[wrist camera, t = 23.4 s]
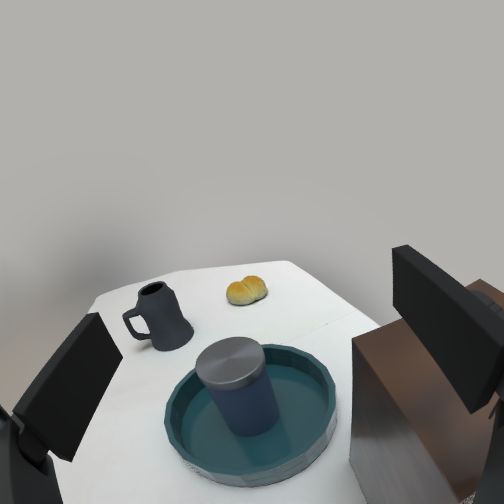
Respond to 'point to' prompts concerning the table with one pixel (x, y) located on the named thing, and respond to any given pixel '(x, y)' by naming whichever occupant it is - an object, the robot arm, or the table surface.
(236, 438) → the round teal tray
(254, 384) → the tin
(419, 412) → the brown wooden block
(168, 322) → the mug
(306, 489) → the table surface
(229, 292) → the bread roll
